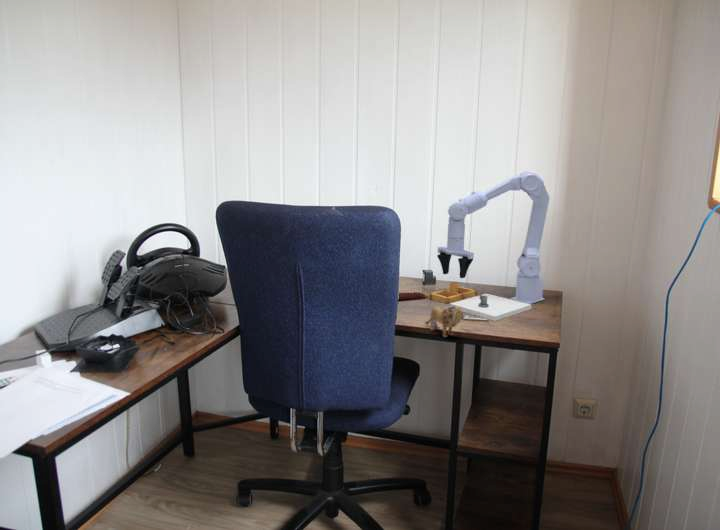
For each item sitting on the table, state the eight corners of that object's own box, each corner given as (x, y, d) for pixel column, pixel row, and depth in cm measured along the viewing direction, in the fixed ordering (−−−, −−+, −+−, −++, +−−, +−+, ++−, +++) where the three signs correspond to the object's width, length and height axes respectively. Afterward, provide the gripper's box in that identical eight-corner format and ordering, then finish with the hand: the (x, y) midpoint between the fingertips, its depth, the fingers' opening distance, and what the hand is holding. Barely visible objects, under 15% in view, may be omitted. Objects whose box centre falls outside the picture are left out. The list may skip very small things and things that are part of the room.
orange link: (458, 291, 198) (458, 277, 197) (476, 296, 192) (477, 281, 190) (429, 298, 188) (429, 283, 187) (447, 304, 182) (448, 288, 180)
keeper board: (486, 297, 190) (487, 282, 189) (531, 309, 177) (532, 293, 175) (449, 307, 177) (450, 292, 176) (494, 321, 164) (496, 304, 163)
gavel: (422, 286, 193) (435, 293, 184) (421, 298, 194) (433, 306, 185) (368, 286, 187) (378, 294, 177) (367, 299, 187) (377, 307, 178)
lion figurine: (466, 337, 149) (468, 306, 148) (452, 341, 146) (454, 309, 145) (431, 323, 161) (432, 294, 159) (418, 326, 158) (418, 297, 156)
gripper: (432, 235, 188) (430, 273, 191) (465, 241, 177) (463, 281, 180) (445, 234, 192) (443, 270, 195) (478, 239, 182) (476, 278, 185)
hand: (454, 275), depth 188 cm, fingers open, 7 cm apart
